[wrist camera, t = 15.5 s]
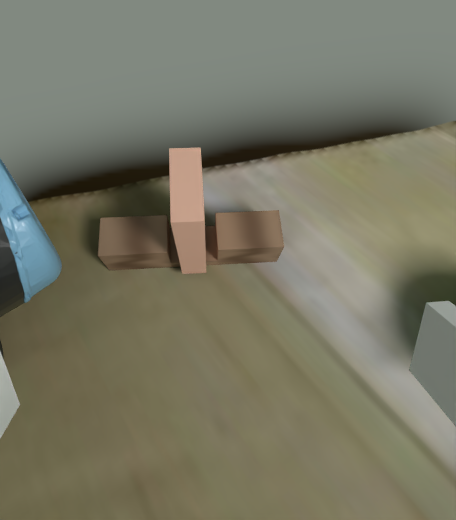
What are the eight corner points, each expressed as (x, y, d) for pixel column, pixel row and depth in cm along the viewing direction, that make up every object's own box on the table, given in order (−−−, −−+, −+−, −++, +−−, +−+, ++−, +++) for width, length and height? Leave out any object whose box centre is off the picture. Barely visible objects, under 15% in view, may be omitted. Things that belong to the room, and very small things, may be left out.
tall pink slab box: (182, 273, 43) (170, 222, 30) (180, 217, 46) (169, 148, 33) (206, 272, 43) (204, 221, 30) (203, 216, 46) (200, 147, 33)
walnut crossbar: (109, 270, 44) (97, 256, 40) (111, 235, 46) (100, 217, 42) (276, 261, 46) (284, 246, 41) (272, 228, 48) (278, 210, 43)
